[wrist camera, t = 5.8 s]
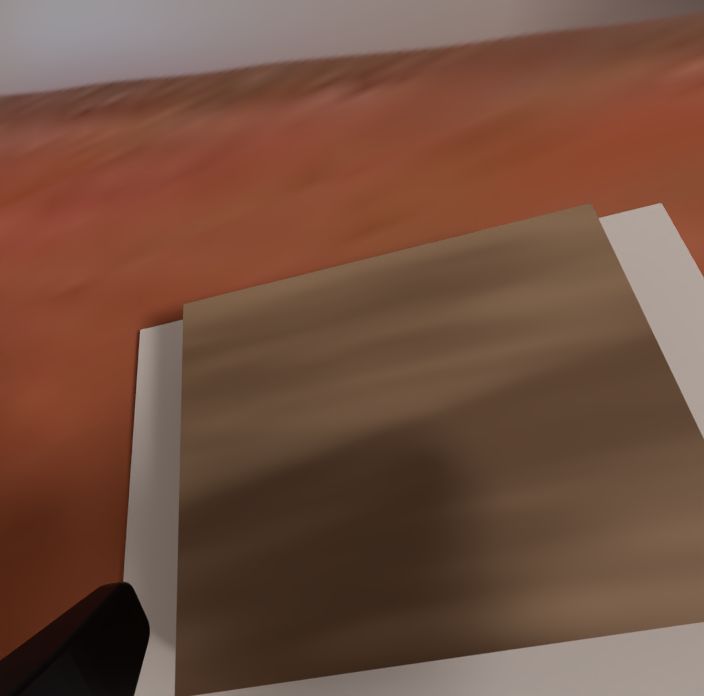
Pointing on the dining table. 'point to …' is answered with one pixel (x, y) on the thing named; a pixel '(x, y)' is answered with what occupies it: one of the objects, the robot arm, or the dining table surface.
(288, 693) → the mat
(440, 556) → the board
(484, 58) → the dining table surface
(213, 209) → the dining table surface
